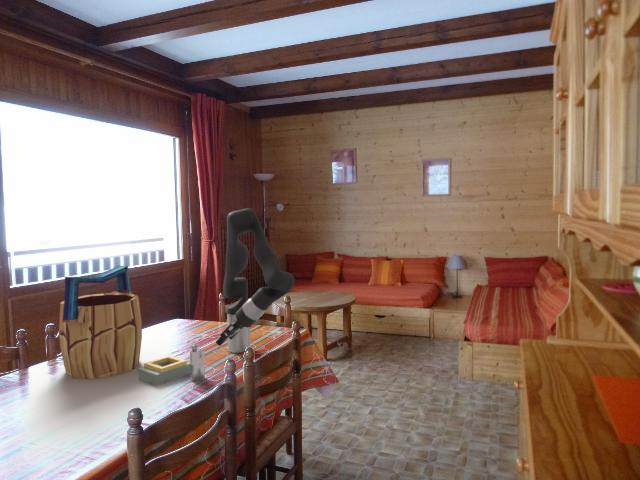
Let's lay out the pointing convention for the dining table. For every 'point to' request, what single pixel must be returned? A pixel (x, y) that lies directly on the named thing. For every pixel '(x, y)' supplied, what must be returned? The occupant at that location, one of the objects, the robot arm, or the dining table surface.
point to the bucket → (100, 328)
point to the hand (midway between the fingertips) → (223, 340)
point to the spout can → (197, 363)
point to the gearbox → (164, 370)
